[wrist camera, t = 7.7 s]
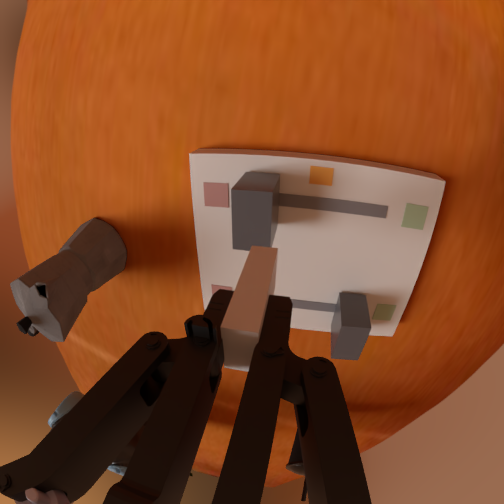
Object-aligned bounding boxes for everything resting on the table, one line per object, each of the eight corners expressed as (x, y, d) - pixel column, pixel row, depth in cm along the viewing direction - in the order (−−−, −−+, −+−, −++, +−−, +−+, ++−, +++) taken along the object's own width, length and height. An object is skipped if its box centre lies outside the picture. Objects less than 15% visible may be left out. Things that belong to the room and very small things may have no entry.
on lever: (330, 325, 31) (330, 358, 27) (339, 292, 29) (341, 326, 24) (355, 327, 31) (357, 360, 27) (365, 295, 28) (371, 328, 24)
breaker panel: (211, 302, 37) (205, 315, 35) (199, 148, 26) (188, 153, 24) (389, 322, 33) (392, 336, 31) (435, 173, 22) (446, 181, 20)
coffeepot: (97, 193, 32) (-8, 270, 17) (146, 243, 34) (57, 344, 19) (67, 255, 39) (-3, 324, 24) (105, 294, 42) (43, 373, 26)
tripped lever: (246, 222, 27) (232, 249, 22) (246, 171, 24) (231, 189, 20) (277, 225, 26) (270, 253, 22) (280, 173, 23) (272, 192, 19)
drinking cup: (317, 391, 44) (305, 497, 27) (343, 405, 45) (336, 501, 29) (287, 403, 48) (269, 498, 31) (313, 416, 49) (301, 504, 32)
